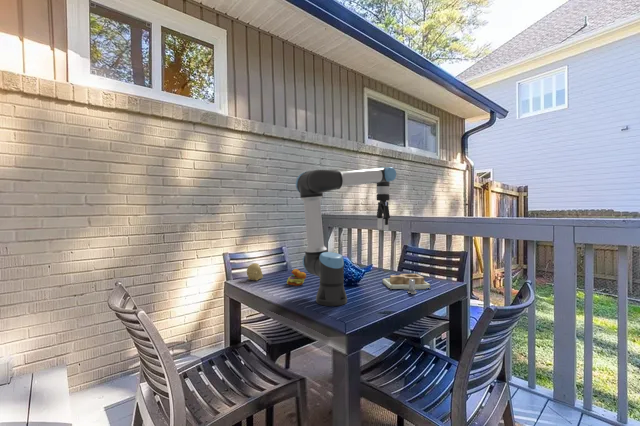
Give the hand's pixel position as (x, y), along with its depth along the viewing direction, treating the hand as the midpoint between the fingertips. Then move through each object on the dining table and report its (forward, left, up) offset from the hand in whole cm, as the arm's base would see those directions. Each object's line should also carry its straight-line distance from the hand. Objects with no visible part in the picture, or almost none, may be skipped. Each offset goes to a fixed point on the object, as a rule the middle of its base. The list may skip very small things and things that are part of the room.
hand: (382, 229), depth 192 cm
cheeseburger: (-51, +5, -33) cm, 61 cm away
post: (+11, -19, -33) cm, 39 cm away
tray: (+13, -3, -33) cm, 35 cm away
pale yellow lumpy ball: (-77, +18, -33) cm, 86 cm away
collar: (+13, -3, -32) cm, 35 cm away
